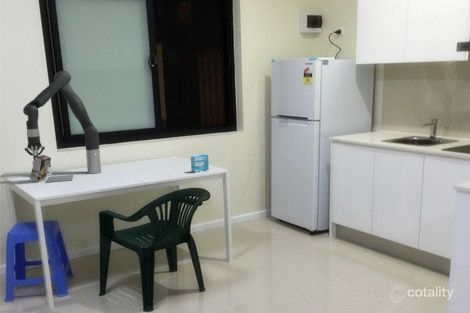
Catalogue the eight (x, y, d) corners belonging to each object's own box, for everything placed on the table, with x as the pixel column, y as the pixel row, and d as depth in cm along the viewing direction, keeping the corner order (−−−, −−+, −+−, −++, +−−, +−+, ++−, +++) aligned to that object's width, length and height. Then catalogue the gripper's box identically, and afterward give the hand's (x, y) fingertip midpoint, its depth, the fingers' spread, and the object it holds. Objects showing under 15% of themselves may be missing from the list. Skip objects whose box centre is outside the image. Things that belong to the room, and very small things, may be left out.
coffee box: (37, 182, 288) (43, 160, 284) (29, 179, 288) (34, 156, 285) (46, 179, 296) (51, 157, 293) (38, 175, 297) (43, 154, 293)
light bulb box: (52, 174, 312) (51, 159, 310) (46, 176, 305) (44, 161, 303) (40, 173, 315) (38, 159, 313) (33, 176, 308) (31, 161, 306)
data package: (194, 173, 307) (193, 156, 305) (191, 172, 311) (190, 155, 309) (208, 170, 314) (208, 154, 312) (205, 169, 318) (205, 153, 316)
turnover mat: (73, 175, 306) (73, 174, 306) (71, 180, 291) (71, 179, 291) (48, 177, 302) (48, 176, 302) (45, 182, 287) (45, 181, 287)
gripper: (45, 134, 293) (47, 159, 296) (23, 135, 289) (26, 161, 292) (43, 135, 285) (46, 161, 289) (21, 136, 282) (24, 163, 285)
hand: (36, 161), depth 290 cm, fingers closed
